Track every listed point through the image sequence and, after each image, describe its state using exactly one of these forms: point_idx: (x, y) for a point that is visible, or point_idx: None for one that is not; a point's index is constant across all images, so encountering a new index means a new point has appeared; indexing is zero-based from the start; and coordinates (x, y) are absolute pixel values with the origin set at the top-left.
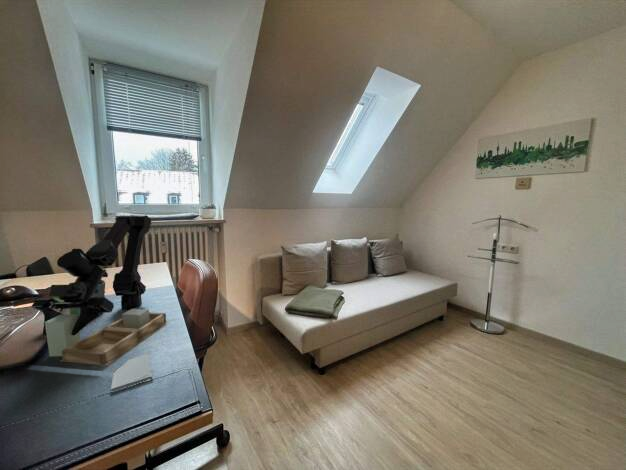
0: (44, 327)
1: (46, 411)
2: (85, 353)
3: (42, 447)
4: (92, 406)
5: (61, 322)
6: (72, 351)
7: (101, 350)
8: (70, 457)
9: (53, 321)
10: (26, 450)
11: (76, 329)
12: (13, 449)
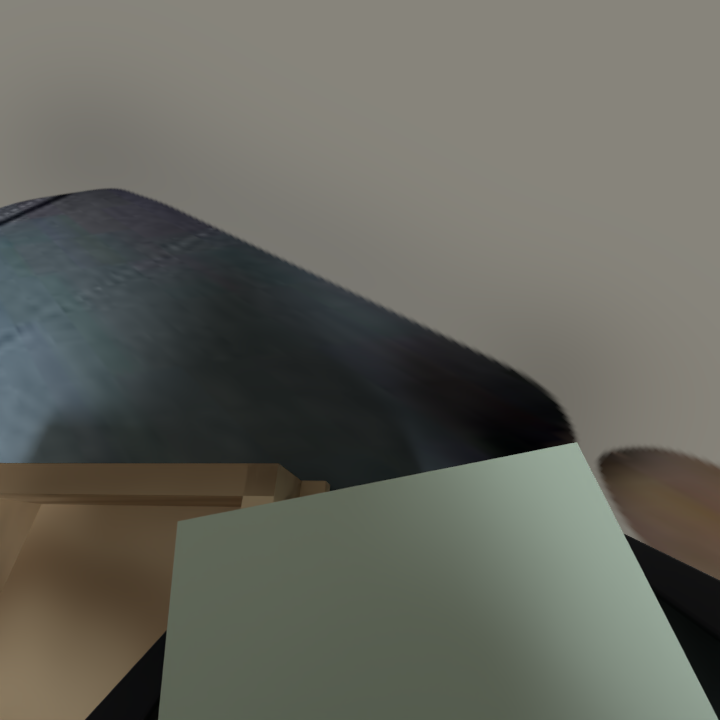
0: (679, 571)
1: (143, 270)
2: (84, 463)
3: (78, 212)
4: (14, 302)
5: (222, 520)
6: (187, 466)
7: (118, 651)
8: (7, 210)
9: (424, 511)
10: (107, 203)
11: (157, 654)
12: (136, 200)
